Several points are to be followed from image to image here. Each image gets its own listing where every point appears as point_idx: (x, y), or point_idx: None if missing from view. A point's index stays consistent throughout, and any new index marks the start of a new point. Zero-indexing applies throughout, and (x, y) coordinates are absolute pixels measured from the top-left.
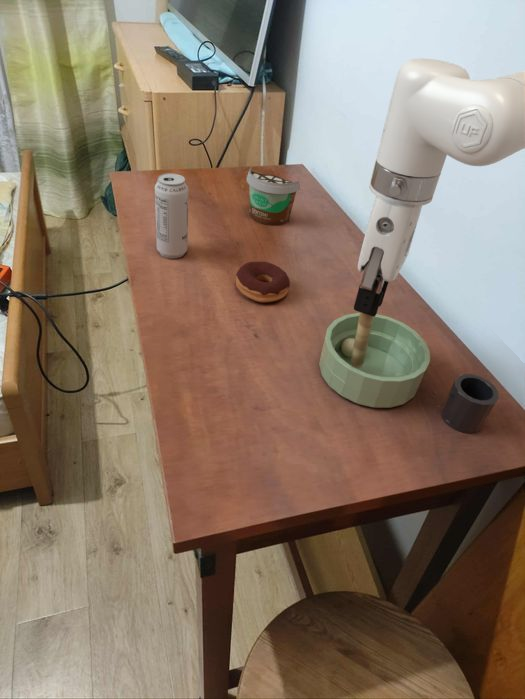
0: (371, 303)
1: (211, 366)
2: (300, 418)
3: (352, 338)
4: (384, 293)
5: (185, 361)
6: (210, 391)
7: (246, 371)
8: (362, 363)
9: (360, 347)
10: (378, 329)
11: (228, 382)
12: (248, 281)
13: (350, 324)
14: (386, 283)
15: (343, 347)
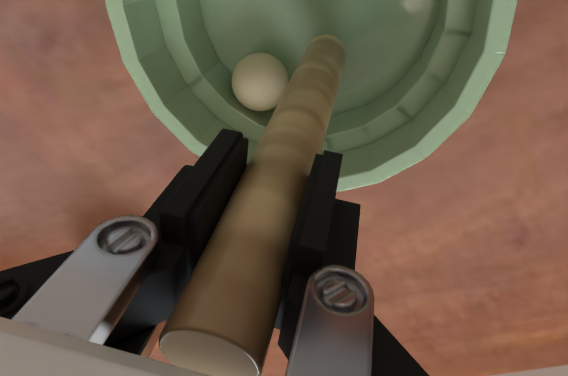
0: (356, 238)
1: (409, 316)
2: (545, 155)
3: (240, 92)
4: (212, 172)
5: (408, 348)
6: (481, 312)
7: (405, 268)
8: (336, 43)
9: (336, 88)
10: (154, 15)
11: (448, 290)
12: (166, 320)
13: (198, 115)
14: (183, 221)
15: (276, 105)
